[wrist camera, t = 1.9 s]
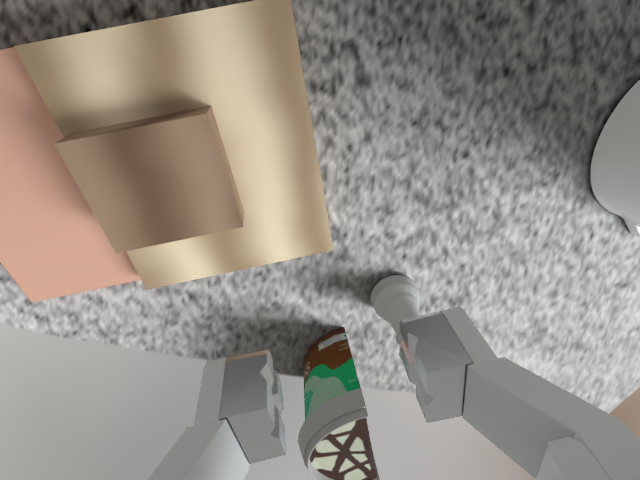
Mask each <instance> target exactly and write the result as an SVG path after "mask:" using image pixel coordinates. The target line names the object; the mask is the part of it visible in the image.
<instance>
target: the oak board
mask: <svg viewBox="0 0 640 480" xmlns="http://www.w3.org/2000/svg"><path fill="white" fill-rule="evenodd" d="M14 47H15V49H16V51H17V53H18V55H19V57H20V58H21V60H22V62H23V64H24V66H25V68H26V69H27V71H28V73H29V75H30V77H31V79H32V80H33V82H34V84H35V86H36V88H37V89H38V91H39V93H40V95H41V97H42V99H43V100H44V102H45V104H46V106H47V108H48V110H49V111H50V113H51V115H52V117H53V119H54V121H55V122H56V124H57V126H58V128H59V130H60V132H61V133H62V135H63V137H66V136H68V135H69V134H71V133H75V132H80V131H86V130H91V129H96V128H101V127H106V126H111V125H116V124H121V123H126V122H131V121H136V120H141V119H146V118H151V117H156V116H161V115H167V114H172V113H177V112H182V111H187V110H192V109H197V108H202V107H207V106H211V107H212V110H213V113H214V116H215V119H216V123H217V126H218V129H219V132H220V136H221V139H222V142H223V145H224V148H225V152H226V155H227V158H228V161H229V165H230V168H231V171H232V174H233V178H234V181H235V184H236V187H237V190H238V194H239V197H240V200H241V203H242V207H243V210H244V222H243V227H241V228H236V229H231V230H226V231H221V232H217V233H212V234H207V235H202V236H197V237H193V238H188V239H183V240H178V241H173V242H169V243H164V244H159V245H154V246H149V247H145V248H140V249H135V250H130V251H126V253H127V254H128V256H129V258H130V260H131V262H132V264H133V265H134V267H135V269H136V271H137V273H138V275H139V276H140V278H141V280H142V282H143V284H144V285H145V287H146V289H152V288H157V287H162V286H166V285H171V284H176V283H180V282H185V281H190V280H195V279H199V278H204V277H209V276H214V275H218V274H223V273H228V272H233V271H237V270H242V269H247V268H251V267H256V266H261V265H266V264H270V263H275V262H280V261H285V260H289V259H294V258H299V257H304V256H308V255H313V254H318V253H322V252H327V251H332V250H333V245H332V239H331V233H330V227H329V221H328V215H327V209H326V203H325V198H324V192H323V186H322V180H321V174H320V168H319V162H318V156H317V151H316V145H315V139H314V133H313V127H312V121H311V115H310V110H309V104H308V98H307V92H306V86H305V80H304V74H303V68H302V63H301V57H300V51H299V45H298V39H297V33H296V27H295V21H294V16H293V10H292V4H291V0H254V1H248V2H243V3H238V4H233V5H227V6H222V7H217V8H211V9H206V10H201V11H196V12H190V13H185V14H180V15H175V16H169V17H164V18H159V19H153V20H148V21H143V22H138V23H132V24H127V25H122V26H117V27H111V28H106V29H101V30H95V31H90V32H85V33H80V34H74V35H69V36H64V37H59V38H53V39H48V40H43V41H37V42H32V43H27V44H22V45H16V46H14Z"/></svg>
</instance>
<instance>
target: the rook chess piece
mask: <svg viewBox="0 0 640 480" xmlns="http://www.w3.org/2000/svg"><path fill="white" fill-rule="evenodd" d="M370 301H371V303H372V305H373V307H374V309H375V311H376V313H377V314H378V315H379V316H380V317H382V318H383V319H385V320H386V321H387V322H389V323H390V324H391V326H392V327H393V329H394V330H395V332H396V334H397V335H396V341H397V343H398V344H399V345H401V342H402V341H403V338H402V335H401V333H400V320H404V319H408V318H412V317H417V316H421V315H420V312H419V306H420V304H419V303H420V294H419V291H418V289H417V287H416V284H415V282H414V281H413V280H412V279H410V278H409V277H406V276H402V275H392V276H388V277H386V278H384V279H382V280H381V281H379V282H378V283H377V284H376V285H375V287H374V289H373V291H372V292H371V299H370ZM399 355H400V357H401V359H402V360H403V358H402V354H401V347H400V352H399Z"/></svg>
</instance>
